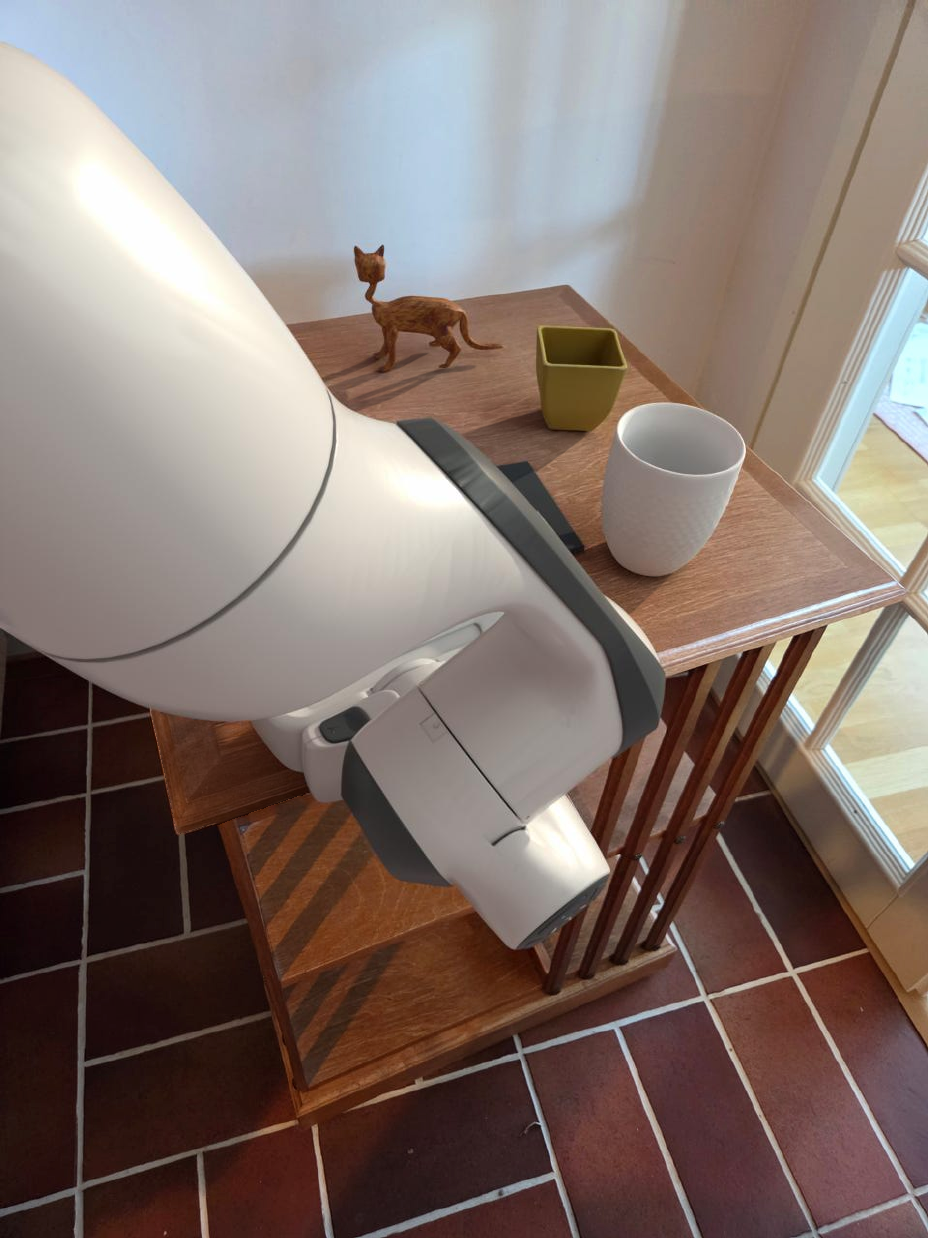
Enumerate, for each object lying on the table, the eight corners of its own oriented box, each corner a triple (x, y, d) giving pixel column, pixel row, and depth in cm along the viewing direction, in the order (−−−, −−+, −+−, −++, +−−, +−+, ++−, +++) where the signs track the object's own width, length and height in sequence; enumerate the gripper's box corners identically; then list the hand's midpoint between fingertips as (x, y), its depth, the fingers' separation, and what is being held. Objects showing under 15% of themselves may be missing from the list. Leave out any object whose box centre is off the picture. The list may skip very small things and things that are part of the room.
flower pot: (526, 396, 97) (536, 323, 90) (600, 399, 97) (615, 327, 91) (532, 439, 91) (543, 364, 84) (611, 442, 91) (628, 368, 85)
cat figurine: (495, 342, 105) (506, 231, 95) (509, 369, 101) (522, 255, 91) (354, 350, 102) (350, 236, 92) (362, 379, 97) (359, 262, 87)
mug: (580, 489, 85) (603, 374, 76) (686, 495, 86) (722, 382, 76) (594, 591, 75) (623, 472, 65) (714, 597, 75) (761, 480, 66)
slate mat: (422, 583, 74) (422, 578, 74) (380, 489, 83) (379, 484, 83) (583, 550, 79) (585, 546, 78) (527, 465, 87) (527, 460, 87)
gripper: (555, 638, 59) (452, 526, 66) (286, 759, 50) (204, 615, 58) (543, 694, 63) (448, 583, 71) (295, 814, 55) (218, 673, 63)
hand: (337, 598), depth 64 cm, fingers open, 8 cm apart
